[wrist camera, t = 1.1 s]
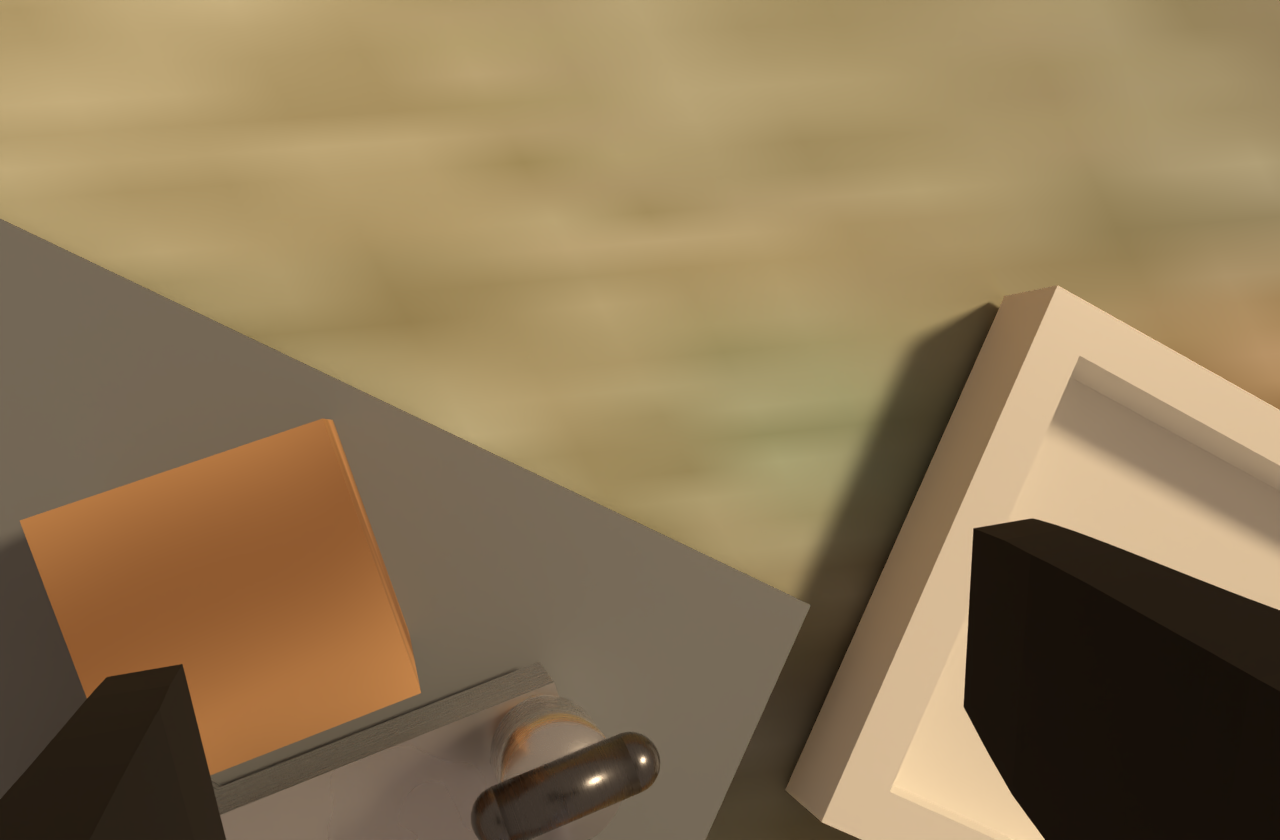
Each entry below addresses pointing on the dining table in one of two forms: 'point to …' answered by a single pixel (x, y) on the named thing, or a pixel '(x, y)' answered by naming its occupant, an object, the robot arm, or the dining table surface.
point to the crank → (452, 774)
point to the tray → (1048, 491)
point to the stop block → (235, 591)
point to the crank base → (402, 525)
